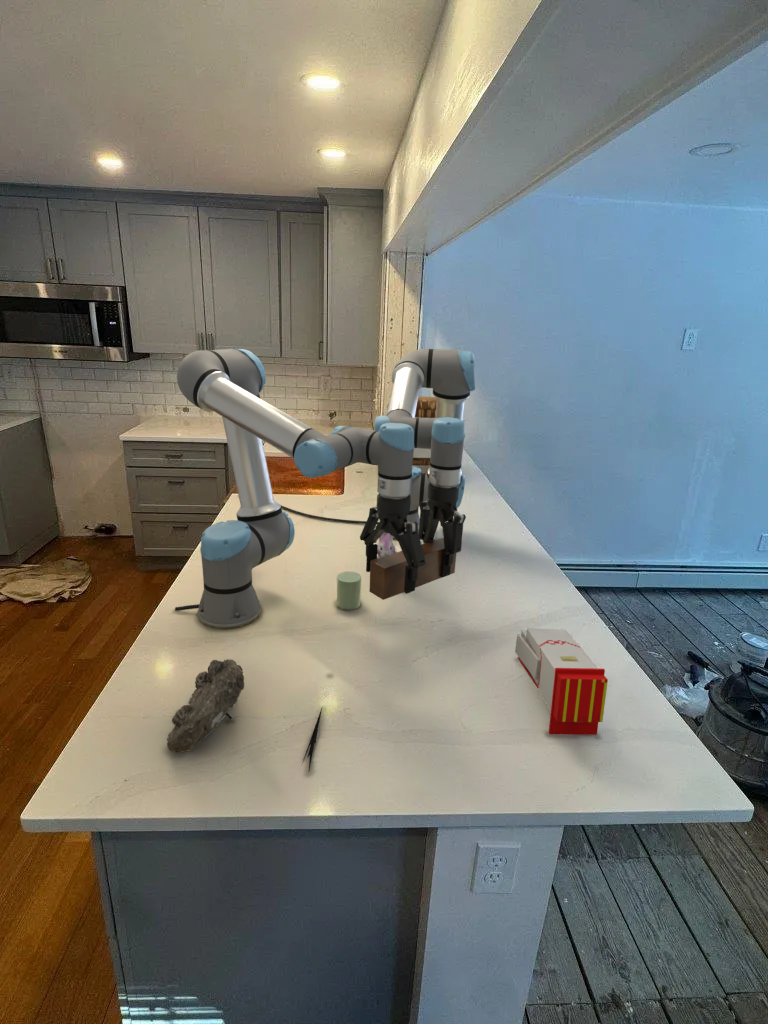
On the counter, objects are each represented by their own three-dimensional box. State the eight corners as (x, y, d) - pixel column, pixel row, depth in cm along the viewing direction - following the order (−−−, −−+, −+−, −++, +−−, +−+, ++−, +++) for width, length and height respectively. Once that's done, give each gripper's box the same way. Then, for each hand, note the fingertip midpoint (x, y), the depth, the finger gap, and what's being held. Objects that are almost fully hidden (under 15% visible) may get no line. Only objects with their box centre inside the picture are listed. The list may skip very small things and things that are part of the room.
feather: (331, 679, 122) (336, 673, 122) (307, 777, 96) (313, 769, 95) (324, 675, 122) (329, 669, 121) (298, 772, 95) (304, 764, 95)
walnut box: (383, 600, 129) (384, 568, 127) (369, 591, 133) (370, 560, 130) (454, 572, 144) (457, 544, 142) (440, 565, 148) (442, 537, 145)
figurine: (381, 586, 161) (383, 537, 156) (365, 571, 170) (367, 525, 165) (409, 580, 165) (412, 533, 160) (393, 566, 174) (395, 521, 169)
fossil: (192, 660, 117) (244, 628, 112) (224, 691, 120) (276, 661, 115) (142, 746, 98) (202, 712, 93) (182, 779, 101) (242, 748, 96)
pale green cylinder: (331, 602, 152) (332, 575, 149) (350, 595, 156) (351, 569, 153) (346, 612, 147) (346, 584, 145) (365, 604, 151) (366, 577, 149)
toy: (561, 612, 132) (617, 675, 103) (556, 665, 135) (608, 741, 106) (510, 611, 132) (551, 674, 102) (505, 664, 134) (544, 741, 105)
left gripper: (346, 483, 132) (344, 566, 139) (421, 513, 114) (414, 606, 121) (371, 478, 137) (368, 558, 144) (446, 506, 119) (439, 596, 126)
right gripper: (406, 476, 139) (401, 562, 147) (461, 496, 127) (452, 589, 135) (428, 472, 144) (422, 555, 152) (483, 490, 131) (473, 580, 139)
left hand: (389, 580), depth 133 cm, fingers open, 13 cm apart
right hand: (436, 571), depth 143 cm, fingers closed on walnut box, 5 cm apart
